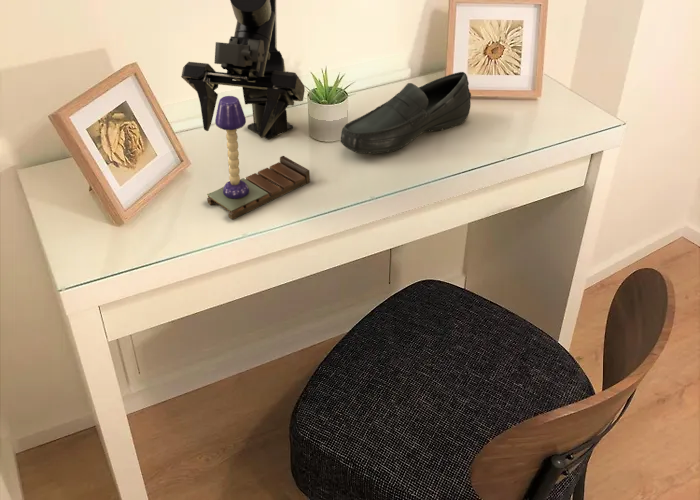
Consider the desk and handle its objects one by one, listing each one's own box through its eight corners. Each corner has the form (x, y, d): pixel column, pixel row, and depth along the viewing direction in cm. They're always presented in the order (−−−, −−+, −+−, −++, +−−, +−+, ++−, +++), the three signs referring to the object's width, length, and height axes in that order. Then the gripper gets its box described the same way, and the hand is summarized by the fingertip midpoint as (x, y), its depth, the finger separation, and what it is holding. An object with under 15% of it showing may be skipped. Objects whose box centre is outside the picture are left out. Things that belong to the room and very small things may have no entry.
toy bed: (232, 220, 121) (231, 207, 119) (207, 202, 125) (205, 190, 123) (310, 182, 130) (309, 170, 128) (284, 167, 134) (283, 155, 132)
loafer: (329, 150, 138) (327, 99, 132) (438, 103, 154) (441, 55, 148) (367, 172, 132) (367, 119, 126) (477, 120, 147) (482, 71, 141)
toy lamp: (251, 183, 126) (242, 91, 116) (253, 198, 122) (244, 104, 112) (222, 186, 125) (211, 93, 115) (223, 201, 122) (211, 107, 112)
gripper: (177, 11, 114) (156, 110, 112) (295, 21, 110) (275, 124, 109) (204, 42, 125) (185, 132, 123) (313, 52, 121) (295, 146, 119)
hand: (233, 133), depth 118 cm, fingers open, 9 cm apart
